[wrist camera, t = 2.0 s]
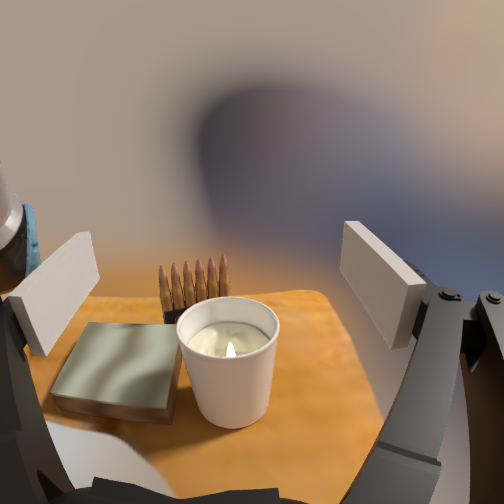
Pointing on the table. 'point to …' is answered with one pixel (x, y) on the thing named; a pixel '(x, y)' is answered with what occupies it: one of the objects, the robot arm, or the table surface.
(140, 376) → the stand
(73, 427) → the table surface
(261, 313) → the white cup
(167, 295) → the ammunition clip
